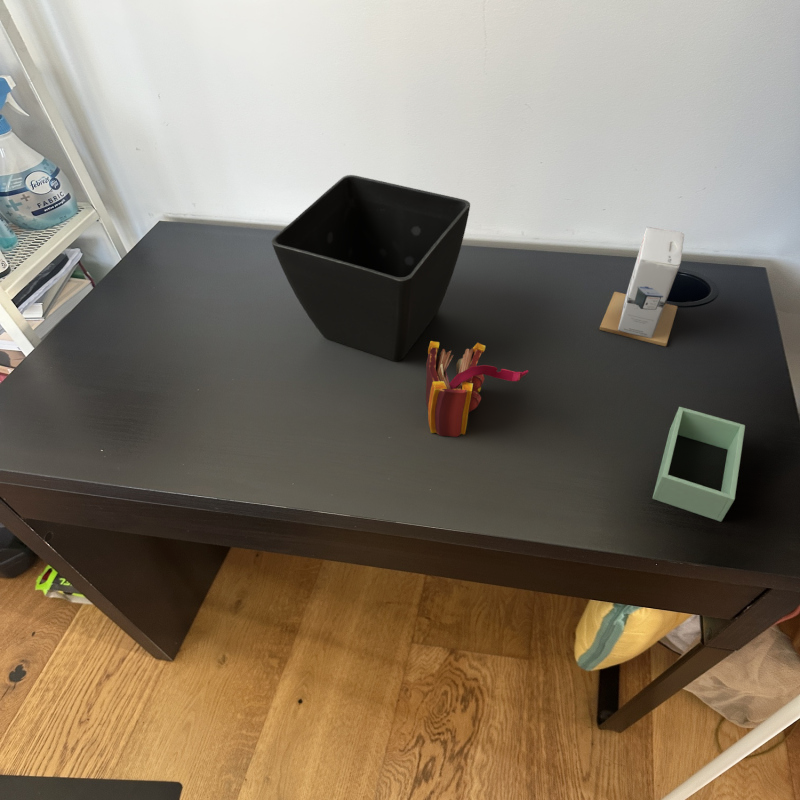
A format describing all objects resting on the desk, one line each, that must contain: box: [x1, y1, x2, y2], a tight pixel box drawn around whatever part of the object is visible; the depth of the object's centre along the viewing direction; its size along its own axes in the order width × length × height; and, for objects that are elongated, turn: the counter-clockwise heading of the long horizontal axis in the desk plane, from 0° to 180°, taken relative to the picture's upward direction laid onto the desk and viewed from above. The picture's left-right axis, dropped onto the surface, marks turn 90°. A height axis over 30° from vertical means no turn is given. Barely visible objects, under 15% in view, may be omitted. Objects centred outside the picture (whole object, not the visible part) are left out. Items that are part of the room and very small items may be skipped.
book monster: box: [425, 340, 529, 438], centre depth 73 cm, size 11×9×12 cm
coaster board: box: [599, 291, 679, 347], centre depth 89 cm, size 9×9×1 cm
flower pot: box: [271, 174, 471, 362], centre depth 84 cm, size 19×19×17 cm
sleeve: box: [652, 406, 746, 522], centre depth 68 cm, size 7×11×4 cm, turn 154°
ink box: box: [618, 226, 685, 338], centre depth 84 cm, size 9×5×12 cm, turn 159°
